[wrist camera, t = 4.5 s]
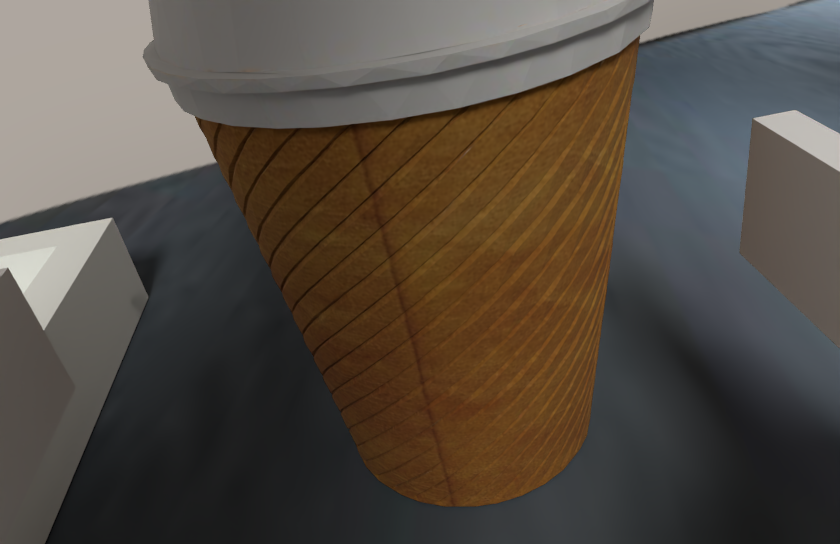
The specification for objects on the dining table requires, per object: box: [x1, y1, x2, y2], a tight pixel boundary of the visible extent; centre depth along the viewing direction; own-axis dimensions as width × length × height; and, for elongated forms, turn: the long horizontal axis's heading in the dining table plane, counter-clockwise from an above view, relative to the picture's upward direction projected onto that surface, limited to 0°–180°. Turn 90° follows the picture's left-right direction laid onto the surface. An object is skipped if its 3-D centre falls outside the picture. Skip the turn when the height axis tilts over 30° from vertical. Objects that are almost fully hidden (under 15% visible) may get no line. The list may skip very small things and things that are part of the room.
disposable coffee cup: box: [143, 0, 654, 506], centre depth 15 cm, size 10×10×12 cm
